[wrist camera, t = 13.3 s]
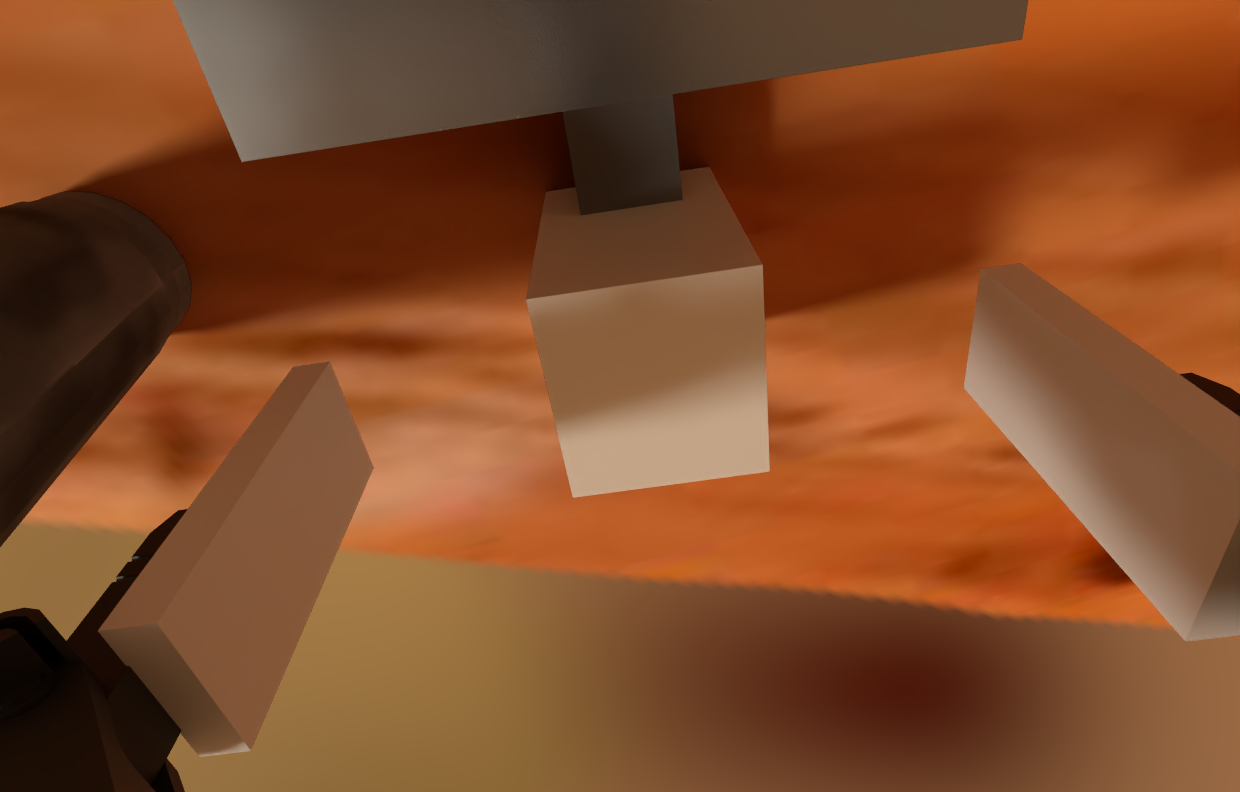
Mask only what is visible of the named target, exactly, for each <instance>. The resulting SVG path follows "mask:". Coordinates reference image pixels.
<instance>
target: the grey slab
mask: <svg viewBox="0 0 1240 792" xmlns="http://www.w3.org/2000/svg"><path fill="white" fill-rule="evenodd" d="M173 2H174V4H175V7H176V9H177V11H178V14H179V16H180V18H181V21H182V23H183V25H184V28H185V30H186V33H187V35H188V37H189V40H190V42H191V44H192V47H193V49H194V51H195V54H196V56H197V58H198V61H199V63H200V65H201V68H202V70H203V72H204V75H205V77H206V79H207V82H208V84H209V86H210V89H211V91H212V93H213V96H214V98H215V100H216V103H217V105H218V107H219V110H220V112H221V115H222V117H223V119H224V122H225V124H226V126H227V129H228V131H229V133H230V136H231V138H232V140H233V143H234V145H235V147H236V150H237V152H238V154H239V157H240V159H241V161H242V162H245V161H251V160H257V159H264V158H270V157H277V156H283V155H289V154H296V153H302V152H308V151H315V150H321V149H328V148H334V147H340V146H347V145H353V144H359V143H366V142H372V141H378V140H385V139H391V138H398V137H404V136H410V135H417V134H423V133H429V132H436V131H442V130H449V129H455V128H461V127H468V126H474V125H480V124H487V123H493V122H500V121H506V120H512V119H519V118H525V117H531V116H538V115H544V114H550V113H557V112H563V111H570V110H576V109H582V108H589V107H595V106H601V105H608V104H614V103H621V102H627V101H633V100H640V99H646V98H652V97H659V96H665V95H671V94H678V93H684V92H691V91H697V90H703V89H710V88H716V87H722V86H729V85H735V84H742V83H748V82H754V81H761V80H767V79H773V78H780V77H786V76H792V75H799V74H805V73H812V72H818V71H824V70H831V69H837V68H843V67H850V66H856V65H863V64H869V63H875V62H882V61H888V60H894V59H901V58H907V57H914V56H920V55H926V54H933V53H939V52H945V51H952V50H958V49H964V48H971V47H977V46H984V45H990V44H996V43H1003V42H1009V41H1015V40H1022V37H1023V31H1024V24H1025V18H1026V11H1027V5H1028V0H173Z"/></svg>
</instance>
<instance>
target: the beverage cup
mask: <svg viewBox="0 0 1240 792" xmlns="http://www.w3.org/2000/svg"><path fill="white" fill-rule="evenodd" d="M191 286H192V285H191V282H190V278H189V275H188V271H187V267H186V264H185V261H184V260H183V258H182V257H181V255H180V254H179V252H178V250H177V249H176V247H175V246H174V244H173V242H172V241H171V239H170V238H169V237H168V236H167V235H166V234H165V233H164V232H163V231H161V230H160V229H159V228H158V227H157V226H156V225H155V224H154V223H153V222H152V221H151V220H150V219H149V218H148V217H146V216H144V215H143V214H141V213H139V212H138V211H136V210H134V209H133V208H131V207H129V206H128V205H126V204H125V203H123V202H120V201H117V200H114V199H111V198H108V197H105V196H102V195H99V194H96V193H89V192H71V191H65V192H62V193H58V194H55V195H51V196H48V197H44V198H41V199H39V200H36V201H32V202H19V203H15V204H12V205H8V206H5V207H1V208H0V547H1V546H2V544H3V543H4V542H5V541H6V540H7V538H8V537H9V536H10V535H11V533H12V532H13V531H14V530H15V529H16V527H17V526H18V525H19V524H20V522H21V521H22V520H23V519H24V518H25V516H26V515H27V514H28V513H29V511H30V510H31V509H32V508H33V507H34V505H35V504H36V503H37V502H38V500H39V499H40V498H41V497H42V496H43V494H44V493H45V492H46V491H47V489H48V488H49V487H50V486H51V485H52V483H53V482H54V481H55V480H56V478H57V477H58V476H59V475H60V474H61V472H62V471H63V470H64V469H65V467H66V466H67V465H68V464H69V463H70V461H71V460H72V459H73V458H74V456H75V455H76V454H77V453H78V452H79V450H80V449H81V448H82V447H83V445H84V444H85V443H86V442H87V441H88V439H89V438H90V437H91V436H92V434H93V433H94V432H95V431H96V430H97V428H98V427H99V426H100V425H101V423H102V422H103V421H104V420H105V419H106V417H107V416H108V415H109V414H110V412H111V411H112V410H113V409H114V408H115V406H116V405H117V404H118V403H119V401H120V400H121V399H122V398H123V397H124V395H125V394H126V393H127V392H128V390H129V389H130V388H131V387H132V386H133V384H134V383H135V382H136V381H137V379H138V378H139V377H140V376H141V375H142V373H143V372H144V371H145V370H146V368H147V367H148V366H149V365H150V364H151V362H152V361H153V360H154V359H155V357H156V356H157V355H158V354H159V353H160V351H161V349H162V347H163V345H164V344H165V342H166V340H167V338H168V337H169V336H170V334H171V332H172V330H173V329H174V328H175V327H176V326H177V325H179V324H180V323H181V321H182V319H183V317H184V316H185V314H186V312H187V310H188V308H189V307H190V298H191Z"/></svg>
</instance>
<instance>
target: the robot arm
mask: <svg viewBox="0 0 1240 792" xmlns="http://www.w3.org/2000/svg"><path fill="white" fill-rule="evenodd" d="M964 389H965V390H966V391H967V392H968V393H969V394H970V395H971V397H972V398H973V399H974V400H975V401H976V402H977V403H978V405H979V406H980V407H981V408H982V409H983V410H984V411H985V413H986V414H987V415H988V416H989V417H990V418H991V420H992V421H993V422H994V423H995V424H996V425H997V426H998V428H999V429H1000V430H1001V431H1002V432H1003V433H1004V434H1005V436H1006V437H1007V438H1008V439H1009V440H1010V441H1011V442H1012V444H1013V445H1014V446H1015V447H1016V448H1017V449H1018V450H1019V452H1020V453H1021V454H1022V455H1023V456H1024V457H1025V458H1026V460H1027V461H1028V462H1029V463H1030V464H1031V465H1032V466H1033V468H1034V469H1035V470H1036V471H1037V472H1038V473H1039V474H1040V476H1041V477H1042V478H1043V479H1044V480H1045V481H1046V482H1047V484H1048V485H1049V486H1050V487H1051V488H1052V489H1053V490H1054V492H1055V493H1056V494H1057V495H1058V496H1059V497H1060V498H1061V500H1062V501H1063V502H1064V503H1065V504H1066V505H1067V506H1068V508H1069V509H1070V510H1071V511H1072V512H1073V513H1074V514H1075V516H1076V517H1077V518H1078V519H1079V520H1080V521H1081V522H1082V524H1083V525H1084V526H1085V527H1086V528H1087V529H1088V530H1089V532H1090V533H1091V534H1092V535H1093V536H1094V537H1095V538H1096V540H1097V541H1098V542H1099V543H1100V544H1101V545H1102V547H1103V548H1104V549H1105V550H1106V551H1107V552H1108V553H1109V555H1110V556H1111V557H1112V558H1113V559H1114V560H1115V561H1116V563H1117V564H1118V565H1119V566H1120V567H1121V568H1122V569H1123V571H1124V572H1125V573H1126V574H1127V575H1128V576H1129V577H1130V579H1131V580H1132V581H1133V582H1134V583H1135V584H1136V585H1137V587H1138V588H1139V589H1140V590H1141V591H1142V592H1143V593H1144V595H1145V596H1146V597H1147V598H1148V599H1149V600H1150V601H1151V603H1152V604H1153V605H1154V606H1155V607H1156V608H1157V609H1158V611H1159V612H1160V613H1161V614H1162V615H1163V616H1164V617H1165V619H1166V620H1167V621H1168V622H1169V623H1170V624H1171V625H1172V627H1173V628H1174V629H1175V630H1176V631H1177V632H1178V633H1179V635H1180V636H1181V637H1182V638H1183V639H1184V640H1185V641H1194V640H1202V639H1210V638H1219V637H1228V636H1236V635H1240V394H1239V393H1237V392H1236V391H1234V390H1233V389H1231V388H1229V387H1227V386H1224V385H1222V384H1219V383H1216V382H1214V381H1211V380H1209V379H1206V378H1204V377H1201V376H1199V375H1196V374H1193V373H1185V374H1178V373H1177V372H1175V371H1174V370H1172V369H1171V368H1169V367H1168V366H1167V365H1165V364H1164V363H1162V362H1161V361H1159V360H1158V359H1157V358H1155V357H1154V356H1152V355H1151V354H1149V353H1148V352H1147V351H1145V350H1144V349H1142V348H1141V347H1140V346H1138V345H1137V344H1135V343H1134V342H1132V341H1131V340H1130V339H1128V338H1127V337H1125V336H1124V335H1122V334H1121V333H1120V332H1118V331H1117V330H1115V329H1114V328H1112V327H1111V326H1110V325H1108V324H1107V323H1105V322H1104V321H1102V320H1101V319H1100V318H1098V317H1097V316H1095V315H1094V314H1092V313H1091V312H1090V311H1088V310H1087V309H1085V308H1084V307H1082V306H1081V305H1080V304H1078V303H1077V302H1075V301H1074V300H1072V299H1071V298H1070V297H1068V296H1067V295H1065V294H1064V293H1062V292H1061V291H1060V290H1058V289H1057V288H1055V287H1054V286H1053V285H1051V284H1050V283H1048V282H1047V281H1045V280H1044V279H1043V278H1041V277H1040V276H1038V275H1037V274H1035V273H1034V272H1033V271H1031V270H1030V269H1028V268H1027V267H1025V266H1024V265H1023V264H1021V263H1018V264H1011V265H1004V266H997V267H990V268H983V269H981V271H980V278H979V285H978V292H977V299H976V306H975V313H974V320H973V327H972V334H971V341H970V348H969V355H968V362H967V369H966V376H965V383H964ZM373 468H374V467H373V465H372V462H371V460H370V458H369V455H368V453H367V450H366V448H365V445H364V443H363V441H362V438H361V436H360V433H359V431H358V429H357V426H356V424H355V421H354V419H353V417H352V414H351V412H350V409H349V407H348V405H347V402H346V400H345V397H344V395H343V393H342V390H341V388H340V385H339V383H338V381H337V378H336V376H335V373H334V371H333V369H332V366H331V364H330V362H324V363H317V364H310V365H303V366H295V367H293V368H292V369H291V371H290V372H289V373H288V375H287V376H286V377H285V379H284V380H283V381H282V383H281V384H280V385H279V387H278V388H277V389H276V391H275V392H274V394H273V395H272V396H271V398H270V399H269V400H268V402H267V403H266V404H265V406H264V407H263V408H262V410H261V411H260V412H259V414H258V415H257V417H256V418H255V419H254V421H253V422H252V423H251V425H250V426H249V427H248V429H247V430H246V431H245V433H244V434H243V435H242V437H241V438H240V439H239V441H238V442H237V444H236V445H235V446H234V448H233V449H232V450H231V452H230V453H229V454H228V456H227V457H226V458H225V460H224V461H223V462H222V464H221V465H220V466H219V468H218V469H217V471H216V472H215V473H214V475H213V476H212V477H211V479H210V480H209V481H208V483H207V484H206V485H205V487H204V488H203V489H202V491H201V492H200V493H199V495H198V496H197V498H196V499H195V500H194V502H193V503H192V504H191V506H190V507H189V508H188V509H185V510H178V511H177V512H176V513H174V514H173V515H172V516H171V517H170V518H168V519H167V520H166V521H165V522H163V523H162V524H161V525H160V526H158V527H157V528H156V529H155V530H153V531H152V532H151V533H150V534H149V535H148V537H147V538H146V539H145V541H144V542H143V543H142V545H141V546H140V547H139V548H138V550H137V551H136V552H135V554H134V555H133V556H132V562H127V564H126V565H125V566H124V568H123V569H122V570H121V572H120V573H119V574H118V575H117V577H116V578H117V581H116V582H113V583H111V584H110V586H109V587H108V588H107V590H106V591H105V592H104V593H103V595H102V596H101V597H100V599H99V600H98V601H97V602H96V604H95V605H94V606H93V608H92V609H91V610H90V611H89V613H88V614H87V616H86V617H85V618H84V619H83V621H82V622H81V623H80V624H79V626H78V627H77V629H76V630H75V631H74V632H73V633H72V635H71V636H70V637H69V639H68V640H67V641H66V640H65V639H64V638H63V637H62V636H61V634H60V633H59V632H58V631H57V630H56V629H55V627H54V626H53V625H52V624H51V623H50V622H49V621H48V620H47V618H46V617H45V616H44V615H43V613H42V612H41V611H40V610H37V609H31V608H21V609H16V610H11V611H6V612H3V613H0V792H185V791H184V788H183V785H182V782H181V780H180V776H179V774H178V772H177V770H176V769H175V768H174V767H173V765H172V764H171V763H170V762H169V761H168V759H167V757H168V755H169V753H170V751H171V749H172V747H173V745H174V744H175V742H176V740H177V738H178V736H179V734H180V733H181V734H182V736H183V737H184V738H185V739H186V740H187V742H188V743H189V744H190V745H191V747H192V748H193V749H194V750H195V751H196V753H197V754H198V755H199V756H200V757H202V756H210V755H219V754H227V753H236V752H244V751H251V749H252V747H253V744H254V742H255V740H256V738H257V735H258V733H259V730H260V728H261V726H262V724H263V722H264V719H265V717H266V715H267V712H268V710H269V708H270V705H271V703H272V701H273V698H274V696H275V694H276V691H277V689H278V687H279V685H280V682H281V680H282V678H283V675H284V673H285V671H286V668H287V666H288V664H289V661H290V659H291V657H292V654H293V652H294V650H295V648H296V645H297V643H298V641H299V638H300V636H301V634H302V632H303V629H304V627H305V625H306V622H307V620H308V618H309V615H310V613H311V611H312V609H313V606H314V604H315V602H316V599H317V597H318V595H319V592H320V590H321V588H322V585H323V583H324V581H325V579H326V576H327V574H328V572H329V569H330V567H331V565H332V562H333V560H334V558H335V555H336V553H337V551H338V549H339V546H340V544H341V542H342V539H343V537H344V535H345V532H346V530H347V528H348V525H349V523H350V521H351V519H352V516H353V514H354V512H355V509H356V507H357V505H358V502H359V500H360V498H361V496H362V493H363V491H364V489H365V486H366V484H367V482H368V479H369V477H370V475H371V472H372V470H373Z"/></svg>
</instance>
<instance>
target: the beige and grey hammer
mask: <svg viewBox="0 0 1240 792" xmlns="http://www.w3.org/2000/svg"><path fill="white" fill-rule="evenodd" d="M562 113H563V118H564V124H565V130H566V135H567V141H568V147H569V152H570V158H571V164H572V169H573V175H574V181H575V186H576V187H573V188H567V189H560V190H554V191H547V192H546V193H545V199H544V204H543V210H542V215H541V220H540V226H539V231H538V237H537V242H536V248H535V253H534V259H533V264H532V269H531V275H530V280H529V286H528V291H527V297H526V302H527V306H528V310H529V315H530V319H531V323H532V327H533V331H534V336H535V340H536V344H537V348H538V353H539V357H540V361H541V365H542V370H543V374H544V378H545V382H546V386H547V391H548V395H549V399H550V403H551V408H552V412H553V416H554V420H555V424H556V429H557V433H558V437H559V441H560V446H561V450H562V454H563V458H564V463H565V467H566V471H567V475H568V479H569V484H570V488H571V492H572V496H573V498H574V497H581V496H589V495H596V494H604V493H611V492H619V491H626V490H634V489H641V488H649V487H656V486H664V485H671V484H679V483H686V482H694V481H701V480H709V479H716V478H724V477H731V476H739V475H746V474H754V473H761V472H769V471H770V469H769V439H768V409H767V378H766V348H765V318H764V287H763V264H762V262H761V261H760V259H759V257H758V255H757V253H756V252H755V250H754V248H753V246H752V244H751V242H750V241H749V239H748V237H747V235H746V233H745V231H744V230H743V228H742V226H741V224H740V222H739V220H738V219H737V217H736V215H735V213H734V211H733V209H732V208H731V206H730V204H729V202H728V200H727V199H726V197H725V195H724V193H723V191H722V189H721V188H720V186H719V184H718V182H717V180H716V178H715V177H714V175H713V173H712V171H711V169H710V167H703V168H696V169H690V170H683V171H680V166H679V156H678V145H677V135H676V124H675V113H674V103H673V94H671V95H665V96H659V97H652V98H646V99H640V100H633V101H627V102H621V103H614V104H608V105H601V106H595V107H589V108H582V109H576V110H570V111H563V112H562Z"/></svg>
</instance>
